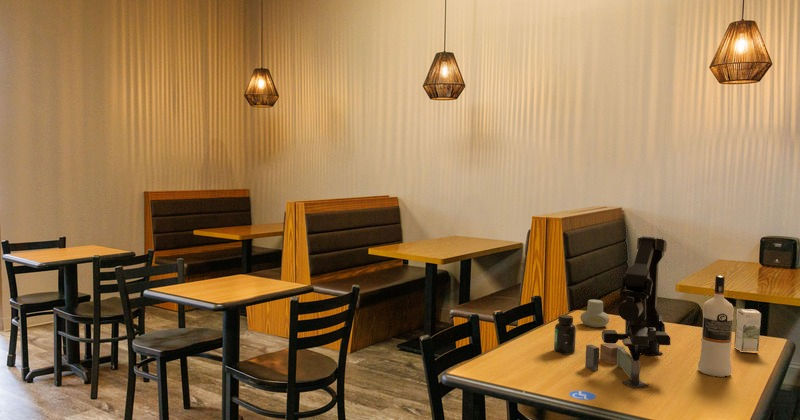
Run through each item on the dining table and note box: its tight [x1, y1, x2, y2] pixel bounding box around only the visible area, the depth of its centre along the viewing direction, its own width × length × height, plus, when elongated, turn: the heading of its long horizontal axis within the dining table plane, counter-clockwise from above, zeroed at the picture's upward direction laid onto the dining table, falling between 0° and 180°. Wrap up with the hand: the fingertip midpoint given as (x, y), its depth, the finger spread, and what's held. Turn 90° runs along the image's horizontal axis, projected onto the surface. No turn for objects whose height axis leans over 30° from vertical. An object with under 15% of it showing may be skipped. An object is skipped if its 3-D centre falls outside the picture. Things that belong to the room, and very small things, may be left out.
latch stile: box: [584, 344, 600, 372], centre depth 193 cm, size 2×4×7 cm
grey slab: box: [616, 348, 634, 380], centre depth 188 cm, size 15×2×6 cm, turn 175°
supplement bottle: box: [553, 314, 577, 355], centre depth 211 cm, size 7×7×12 cm
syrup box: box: [733, 308, 762, 352], centre depth 217 cm, size 6×6×14 cm
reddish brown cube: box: [599, 343, 625, 364], centre depth 202 cm, size 5×5×5 cm
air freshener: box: [579, 299, 610, 329], centre depth 248 cm, size 11×8×10 cm
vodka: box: [697, 275, 735, 378], centre depth 191 cm, size 9×9×30 cm
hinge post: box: [621, 359, 649, 390], centre depth 179 cm, size 5×5×7 cm
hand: (635, 365), depth 188 cm, fingers closed
